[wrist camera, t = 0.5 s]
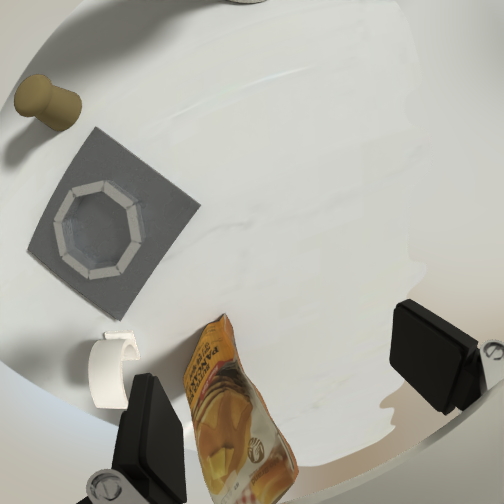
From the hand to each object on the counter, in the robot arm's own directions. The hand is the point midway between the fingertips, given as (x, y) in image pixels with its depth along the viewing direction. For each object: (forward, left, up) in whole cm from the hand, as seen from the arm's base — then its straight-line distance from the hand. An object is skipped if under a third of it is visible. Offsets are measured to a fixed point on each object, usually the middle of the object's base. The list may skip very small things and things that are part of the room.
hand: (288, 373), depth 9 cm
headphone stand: (+23, -2, -30) cm, 37 cm away
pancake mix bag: (+17, +11, -30) cm, 36 cm away
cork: (0, -29, -30) cm, 42 cm away
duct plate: (+9, -13, -29) cm, 33 cm away
